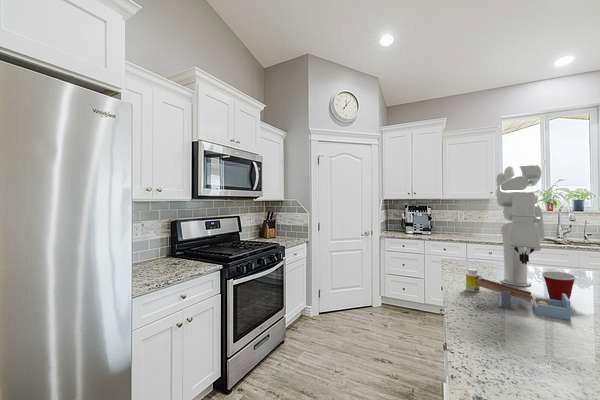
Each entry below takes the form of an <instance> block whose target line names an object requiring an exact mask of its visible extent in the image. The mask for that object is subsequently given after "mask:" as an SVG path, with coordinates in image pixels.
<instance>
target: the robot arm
mask: <svg viewBox="0 0 600 400" xmlns="http://www.w3.org/2000/svg"><path fill="white" fill-rule="evenodd" d="M541 176H542V170H541V167H540V166H539V165H538V164H536V163H525V164H524V163H522V164H513V165H509V166H507V167H506V168H505V169H504V172H500V173H498V174H497V175H496V178H495V179H496V185H497V188H496V192H495V193H496V196H495V197H496V203H497V205H498V206H499V207H501V208H503V218H504V219H505V220H506V221H508V222H506V223H504V224H502V226H501V230H500V232H501V238H502V245H503V277H501V278H500V282H501V283H502V284H503V283H504V284H505V285H509V286H516V287H531V285H532V283H531V281H529V280H528V267H527V266H528V263H529V262H530V255H531V254H532V253H533V252H538V251H539V252H540V251H542V248H541V246H540V245H541V242H543V241H544V240H545V237H546V235H545V225H544V219H543V218H544V217H543V210H542V208H541V206H540V205H538V204H537V203H538V195H537V193H535V191H533V190H530V189H529V190H527V189H526V188H528V187H534V186H536V185H537V184H538V182H539V181H540V180H541ZM525 189H526V190H525Z"/></svg>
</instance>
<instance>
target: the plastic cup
mask: <svg viewBox="0 0 600 400" xmlns="http://www.w3.org/2000/svg"><path fill="white" fill-rule="evenodd" d="M541 275H542V277H543V279H544V282H545V286H546V289H547V294H548V299H552V300H559V301H562V293H563V294H566V295H567V297H568V299H569V300H570V301H571V299H570V298H571V297H572V291H573V287H574V283H575V280H576V279H577V276H576V275H574V274H573V273H568V272H563V271H549V270H548V271H543V272H541Z"/></svg>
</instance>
